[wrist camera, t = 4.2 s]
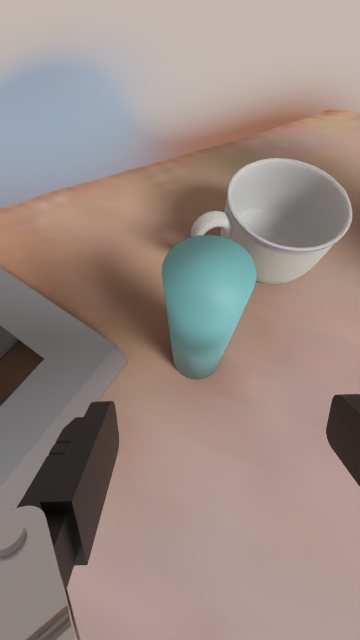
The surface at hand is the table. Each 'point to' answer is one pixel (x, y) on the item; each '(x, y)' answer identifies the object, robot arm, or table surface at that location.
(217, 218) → the teacup
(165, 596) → the table surface
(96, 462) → the robot arm
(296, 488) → the table surface
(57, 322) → the well block
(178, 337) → the peg
